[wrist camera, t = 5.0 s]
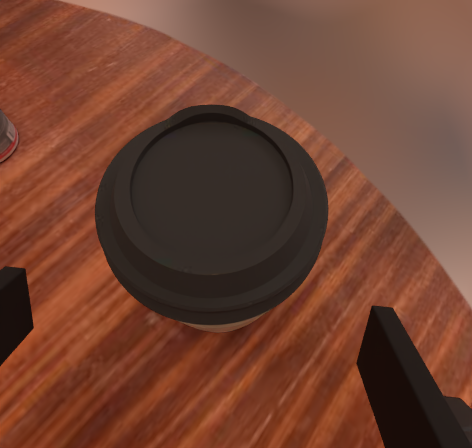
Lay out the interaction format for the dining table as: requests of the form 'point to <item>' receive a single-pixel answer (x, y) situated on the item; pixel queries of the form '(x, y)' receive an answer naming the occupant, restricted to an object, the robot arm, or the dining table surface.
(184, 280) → the coffee cup
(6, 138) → the pill bottle
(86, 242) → the dining table surface
